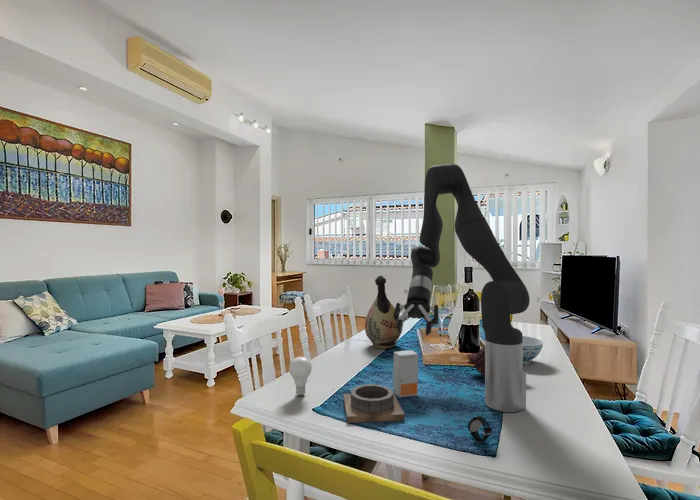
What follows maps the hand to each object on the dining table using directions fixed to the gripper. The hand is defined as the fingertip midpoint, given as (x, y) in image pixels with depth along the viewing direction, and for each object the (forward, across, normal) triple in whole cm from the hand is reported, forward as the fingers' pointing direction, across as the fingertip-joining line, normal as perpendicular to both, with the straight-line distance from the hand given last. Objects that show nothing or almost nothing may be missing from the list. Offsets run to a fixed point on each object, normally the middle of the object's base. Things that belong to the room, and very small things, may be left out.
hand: (413, 333), depth 120 cm
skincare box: (+19, 0, +3) cm, 19 cm away
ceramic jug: (-15, -20, +36) cm, 44 cm away
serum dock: (+28, -6, -6) cm, 29 cm away
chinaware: (-12, +32, +34) cm, 49 cm away
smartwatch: (+33, +20, -11) cm, 40 cm away
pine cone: (+2, +23, +19) cm, 30 cm away
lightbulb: (+26, -28, -5) cm, 39 cm away
